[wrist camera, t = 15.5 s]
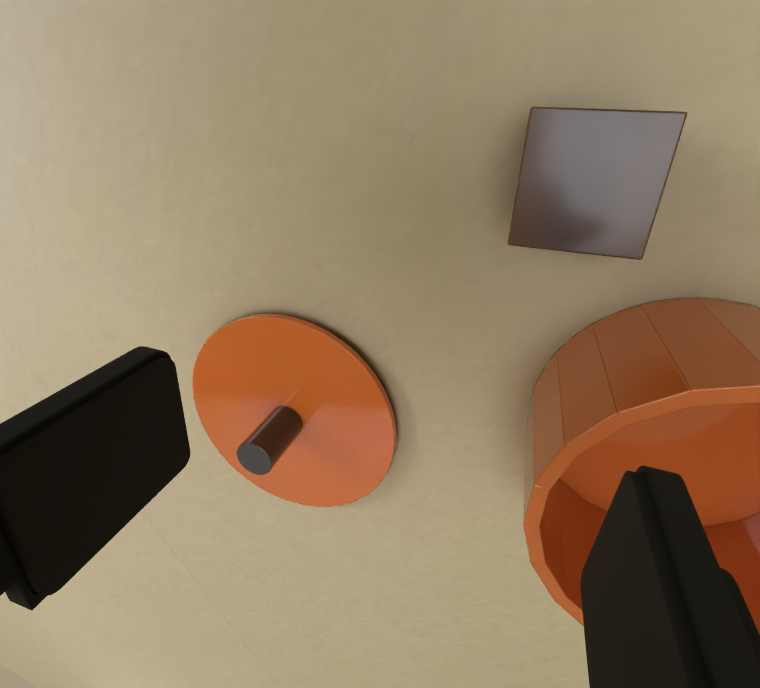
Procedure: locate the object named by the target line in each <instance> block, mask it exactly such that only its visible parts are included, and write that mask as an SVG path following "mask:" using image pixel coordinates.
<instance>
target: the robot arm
mask: <svg viewBox="0 0 760 688" xmlns="http://www.w3.org/2000/svg"><path fill="white" fill-rule="evenodd" d="M189 458H190V447H189V441H188V436H187V430H186V424H185V418H184V413H183V407H182V401H181V395H180V390H179V384H178V378H177V372H176V367H175V363H174V362H173V361H172V360H171V358H170V356H169V354H168V353H166V352H164V351H161V350H157V349H152V348H148V347H141V346H140V347H137V348H135V349H133V350H131V351H129V352H127V353H126V354H124V355H122V356H120V357H119V358H117V359H115V360H113V361H111V362H110V363H108V364H106V365H104V366H103V367H101V368H99V369H97V370H95V371H94V372H92V373H90V374H88V375H86V376H85V377H83V378H81V379H79V380H78V381H76V382H74V383H72V384H70V385H69V386H67V387H65V388H63V389H62V390H60V391H58V392H56V393H54V394H53V395H51V396H49V397H47V398H46V399H44V400H42V401H40V402H38V403H37V404H35V405H33V406H31V407H29V408H28V409H26V410H24V411H22V412H21V413H19V414H17V415H15V416H13V417H12V418H10V419H8V420H6V421H5V422H3V423H1V424H0V595H2V594H3V593H4V592H6V594H7V596H8V598H9V600H10V601H12V602H14V603H16V604H18V605H21V606H23V607H25V608H27V609H30V610H33V609H34V608H35V607H36V606H37V605H38V604H39V603H40V602H41V601H42V600H43V599H44V598H45V597H46V596H47V595H52V594H53V593H55V592H57V591H58V590H59V589H61V588H62V587H63V586H64V585H65V584H66V583H67V582H68V581H69V580H70V579H71V578H72V577H73V576H74V575H75V574H76V573H77V572H78V571H79V570H80V569H81V568H82V567H83V566H84V565H85V564H86V563H87V562H88V561H89V560H90V559H91V558H92V557H93V556H95V555H96V554H97V553H98V552H99V551H100V550H101V549H102V548H103V547H104V546H105V545H106V544H107V543H108V542H109V541H110V540H111V539H112V538H113V537H114V536H115V535H116V534H117V533H118V532H119V531H120V530H121V529H122V528H123V527H124V526H125V525H126V524H127V523H128V522H129V521H130V520H131V519H132V518H133V517H134V516H135V515H136V514H137V513H138V512H139V511H140V510H141V509H142V508H144V507H145V506H146V505H147V504H148V503H149V502H150V501H151V500H152V499H153V498H154V497H155V496H156V495H157V494H158V493H159V492H160V491H161V490H162V489H163V488H164V487H165V486H166V485H167V484H168V483H169V482H170V481H171V480H172V479H173V478H174V477H175V476H176V475H177V474H178V473H179V472H180V471H181V470H182V469H183V468H184V467H185V466H186V464H187V463H188V461H189ZM580 590H581V601H582V612H583V622H584V633H585V643H586V653H587V664H588V674H589V685H590V688H760V634H759V632H758V630H757V627H756V625H755V623H754V620H753V618H752V616H751V614H750V611H749V609H748V607H747V604H746V602H745V600H744V598H743V595H742V593H741V591H740V589H739V586H738V584H737V583H736V581H735V579H734V578H733V576H732V575H731V574H730V573H729V572H728V571H727V570H726V569H723V568H720V566H719V564H718V562H717V559H716V557H715V554H714V552H713V550H712V547H711V545H710V542H709V540H708V537H707V535H706V533H705V530H704V528H703V525H702V523H701V521H700V518H699V516H698V513H697V511H696V509H695V506H694V504H693V501H692V499H691V497H690V494H689V492H688V489H687V487H686V484H685V482H684V480H683V478H682V477H681V475H679V474H678V473H673V472H669V471H665V470H661V469H657V468H652V467H648V466H644V465H642V466H640V467H639V468H638V469H637V470H636V472H633V471H626V472H625V473H624V475H623V477H622V479H621V481H620V484H619V486H618V488H617V491H616V493H615V495H614V498H613V500H612V502H611V505H610V507H609V509H608V512H607V514H606V516H605V519H604V521H603V523H602V526H601V528H600V530H599V533H598V535H597V537H596V540H595V542H594V544H593V547H592V549H591V551H590V554H589V556H588V558H587V561H586V563H585V565H584V568H583V571H582V575H581V583H580Z"/></svg>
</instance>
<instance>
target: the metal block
mask: <svg viewBox="0 0 760 688" xmlns="http://www.w3.org/2000/svg"><path fill="white" fill-rule="evenodd" d="M686 117H687V112H676V111H646V110H615V109H584V108H553V107H531V109H530V115H529V121H528V127H527V133H526V139H525V144H524V150H523V156H522V162H521V168H520V174H519V180H518V185H517V191H516V197H515V203H514V209H513V215H512V221H511V227H510V232H509V238H508V245H512V246H521V247H530V248H539V249H548V250H557V251H566V252H575V253H584V254H593V255H602V256H611V257H620V258H629V259H638V260H641V259H642V258H643V255H644V252H645V248H646V245H647V242H648V239H649V235H650V232H651V229H652V226H653V223H654V219H655V216H656V213H657V210H658V207H659V203H660V200H661V197H662V194H663V190H664V187H665V184H666V181H667V178H668V174H669V171H670V168H671V165H672V162H673V158H674V155H675V152H676V149H677V145H678V142H679V139H680V136H681V133H682V129H683V126H684V123H685V120H686Z"/></svg>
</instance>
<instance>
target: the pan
mask: <svg viewBox="0 0 760 688" xmlns="http://www.w3.org/2000/svg"><path fill="white" fill-rule="evenodd" d="M642 465H644V466H648V467H652V468H657V469H661V470H665V471H669V472H673V473H678V474H679V475H681V477H682V478H683V480H684V482H685V484H686V487H687V489H688V492H689V494H690V497H691V499H692V501H693V504H694V506H695V509H696V511H697V513H698V516H699V518H700V521H701V523H702V525H703V528H704V530H705V533H706V535H707V537H708V540H709V542H710V545H711V547H712V550H713V552H714V554H715V557H716V559H717V562H718V564H719V566H720V568H723V569H726V570H727V571H728V572H729V573H730V574H731V575H732V576H733V578H734V579H735V581H736V583H737V584H738V586H739V589H740V591H741V593H742V595H743V598H744V600H745V602H746V604H747V607H748V609H749V611H750V614H751V616H752V618H753V620H754V623H755V625H756V627H757V630H758V632H759V634H760V308H758V307H755V306H752V305H749V304H744V303H739V302H733V301H728V300H721V299H707V298H686V299H672V300H665V301H657V302H652V303H648V304H644V305H640V306H636V307H632V308H629V309H626V310H623V311H621V312H618V313H615V314H612V315H610V316H608V317H606V318H604V319H602V320H600V321H598V322H596V323H594V324H592V325H591V326H589V327H587V328H586V329H584V330H583V331H581V332H580V333H578V334H577V335H575V336H574V337H573V338H572V339H571V340H569V341H568V342H567V343H566V344H565V345H563V346H562V347H561V348H560V350H559V351H558V352H557V353H556V354H555V355H554V356H553V357H552V358H551V359H550V361H549V362H548V364H547V365H546V367H545V368H544V369H543V371H542V372H541V375H540V377H539V379H538V381H537V383H536V385H535V387H534V390H533V393H532V397H531V400H530V407H529V413H528V417H527V433H526V462H525V491H524V520H523V526H524V531H525V536H526V542H527V547H528V552H529V558H530V562H531V565H532V566H533V568H534V569H535V571H536V573H537V574H538V576H539V577H540V579H541V581H542V582H543V584H544V585H545V587H546V588H547V590H548V592H549V593H550V595H551V596H552V598H553V599H554V601H555V602H556V603H558V604H559V605H560V606H561V607H562V608H563V609H564V610H566V611H567V612H568V613H569V614H570V615H571V616H572V617H574V618H575V619H576V620H577V621H578V622H579V623H580V624H582V625H583V626H584V622H583V612H582V601H581V590H580V583H581V575H582V571H583V568H584V565H585V563H586V561H587V558H588V556H589V554H590V551H591V549H592V547H593V544H594V542H595V540H596V537H597V535H598V533H599V530H600V528H601V526H602V523H603V521H604V519H605V516H606V514H607V512H608V509H609V507H610V505H611V502H612V500H613V498H614V495H615V493H616V491H617V488H618V486H619V484H620V481H621V479H622V477H623V475H624V473H625V472H626V471H633V472H636V470H637V469H638V468H639V467H640V466H642Z"/></svg>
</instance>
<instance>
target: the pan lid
mask: <svg viewBox="0 0 760 688" xmlns="http://www.w3.org/2000/svg"><path fill="white" fill-rule="evenodd" d="M193 395H194V401H195V405H196V409H197V412H198V415H199V418H200V420H201V423H202V425H203V427H204V429H205V431H206V433H207V434H208V436H209V438H210V439H211V441H212V443H213V444H214V445H215V447H216V448H217V450H218V451H219V452H220V454H221V455H222V456H223V457H224V458H225V459H226V460H227V461H228V463H229V464H231V465H232V466H233V467H234V468H235V469H236V470H237V471H238V472H239V473H240V474H242V475H243V476H244V477H245V478H247V479H248V480H249V481H251V482H252V483H254V484H255V485H257V486H258V487H260V488H262V489H263V490H265V491H267V492H269V493H271V494H273V495H275V496H277V497H280V498H282V499H285V500H288V501H291V502H294V503H299V504H303V505H309V506H319V507H329V506H339V505H343V504H347V503H351V502H353V501H356V500H358V499H360V498H362V497H364V496H365V495H367V494H369V493H370V492H371V491H372V490H373V489H374V488H376V487H377V486H378V484H379V483H380V482H381V481H382V480H383V478H384V477H385V475H386V473H387V471H388V469H389V467H390V465H391V462H392V459H393V456H394V453H395V447H396V424H395V418H394V414H393V410H392V407H391V404H390V401H389V399H388V396H387V394H386V392H385V390H384V388H383V386H382V384H381V383H380V381H379V379H378V378H377V376H376V375H375V373H374V372H373V371H372V369H371V368H370V367H369V366H368V364H367V363H366V362H365V361H364V360H363V359H362V358H361V357H360V356H359V355H358V354H357V353H356V352H355V351H354V350H353V349H352V348H351V347H350V346H348V345H347V344H346V343H345V342H344V341H342V340H341V339H339V338H338V337H336V336H335V335H333V334H332V333H330V332H329V331H327V330H325V329H323V328H321V327H319V326H317V325H315V324H313V323H310V322H307V321H304V320H302V319H299V318H295V317H290V316H286V315H278V314H256V315H250V316H245V317H242V318H239V319H236V320H234V321H232V322H230V323H228V324H227V325H225V326H223V327H221V328H220V329H218V330H217V331H216V332H215V333H214V334H213V335H211V336H210V338H209V339H208V340H207V341H206V342H205V344H204V345H203V347H202V349H201V350H200V352H199V354H198V357H197V360H196V363H195V366H194V372H193Z"/></svg>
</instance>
